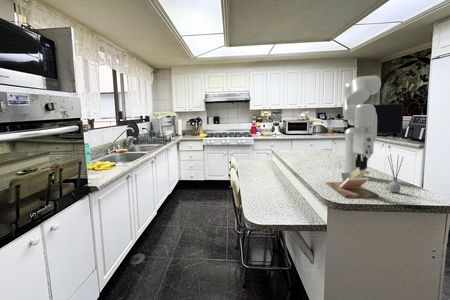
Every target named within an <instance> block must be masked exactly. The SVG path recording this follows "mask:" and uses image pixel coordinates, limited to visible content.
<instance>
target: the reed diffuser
mask: <svg viewBox="0 0 450 300" xmlns="http://www.w3.org/2000/svg"><path fill="white" fill-rule="evenodd" d="M387 158H388V161H389V164H390V165H389V166H390V170H391V172H392V173H391V174H392V176H393V177H392V181H391V182H389V183H388V185H386V187H385V190H387V191H389V192H392V193H400V191H401V184H400V183H399V182H398V175H399V172H400V168H401V166H402V164H403V159H404V157H402V158H401V161H400V165H399V160H397V162H396V163H397V164H396V169H397V170H396V173H395V171H394V165H393V159H392V154H391V153H390V157H389V156H387ZM397 158H399V154H397ZM398 165H399V167H398Z"/></svg>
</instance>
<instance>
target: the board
mask: <svg viewBox="0 0 450 300" xmlns="http://www.w3.org/2000/svg"><path fill="white" fill-rule="evenodd" d="M325 183H326V184H325ZM342 183H343V181H340V182H339V181H337V182H336V181H334V182H333V181H331V182H329V181H328V182H324V184H325V185H327V186H328V187H329V188H331V189H332V188H333V189H332V190H334V191H335V192H336V191H337V193H338V194H339V195H341V196H342V197H343V198H345V199H365V198H367V199H370V198H371V199H372V198H373V199H376V198H377V199H378V198H379V197H380V196H379V193H377V192H374V191H372V190H370V189H368V188H366V187H364V186H363V185H361V186H360V187H357V188H340V185H341V184H342Z"/></svg>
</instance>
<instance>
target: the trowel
mask: <svg viewBox="0 0 450 300" xmlns="http://www.w3.org/2000/svg"><path fill="white" fill-rule="evenodd" d="M366 171H367V169H360V168H357V169H356V170H354V171H353V172H351V173H344V172H340V175H341V180H342V181H341V182H344V181H345V180H346V179H347V178H359V177H361V176H363V175H367V174H366Z"/></svg>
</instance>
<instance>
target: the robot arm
mask: <svg viewBox="0 0 450 300" xmlns="http://www.w3.org/2000/svg"><path fill="white" fill-rule="evenodd" d="M381 80H382V79H381V78H380V77H379V76H378V75H367V76H366V75H365V76H364V75H363V76H357V77H355V78H353V79H352V81H350V82H348V83H346V84H345V86H344V95H345V99H344V101H343V104H342V116H343V118H344V119H345V120H347V124H348V125H349V126H354V127H349V128H347V129H346V130H345V131H344V141H345V150H344V152H345V154H344V156H345V157H344V172H343V173H351V172H353V171H354V170H356V169H357V168H360V169H366V174H365V175H369V174H370V171H369V170H367V169H368V161H369V158H371V157H372V155H373V154H374V143H375V142H376V140H377V137H378V136H377V135H378V114H377V111H376V107H375V106H374V105H373V104H371V103H365V102H366V101H367V100H368V99H369V98H370V96H371V95H375V94H377V92H379V90H380V89H381V87H382V81H381ZM359 178H365V176H364V175H363V176H361V177H359Z"/></svg>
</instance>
